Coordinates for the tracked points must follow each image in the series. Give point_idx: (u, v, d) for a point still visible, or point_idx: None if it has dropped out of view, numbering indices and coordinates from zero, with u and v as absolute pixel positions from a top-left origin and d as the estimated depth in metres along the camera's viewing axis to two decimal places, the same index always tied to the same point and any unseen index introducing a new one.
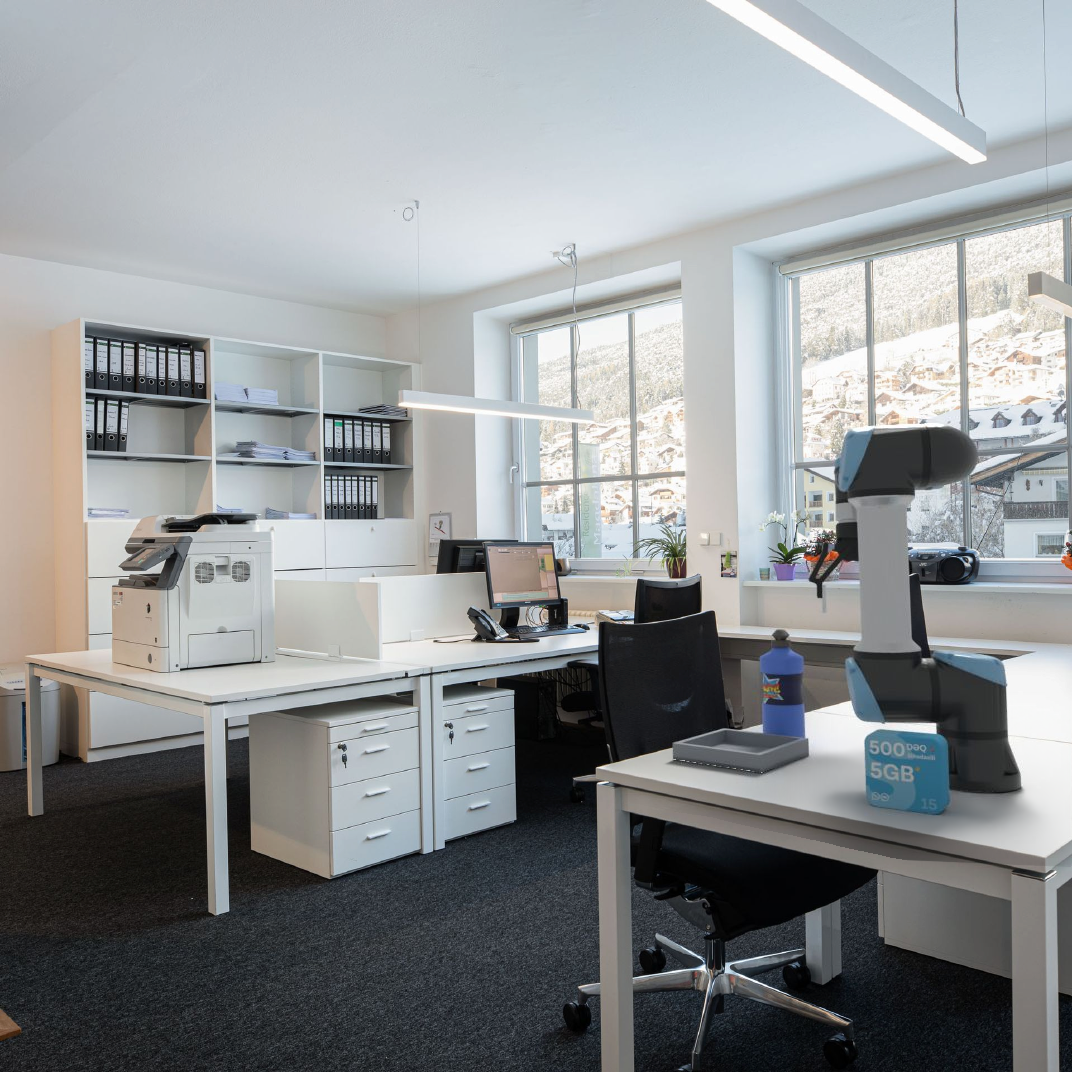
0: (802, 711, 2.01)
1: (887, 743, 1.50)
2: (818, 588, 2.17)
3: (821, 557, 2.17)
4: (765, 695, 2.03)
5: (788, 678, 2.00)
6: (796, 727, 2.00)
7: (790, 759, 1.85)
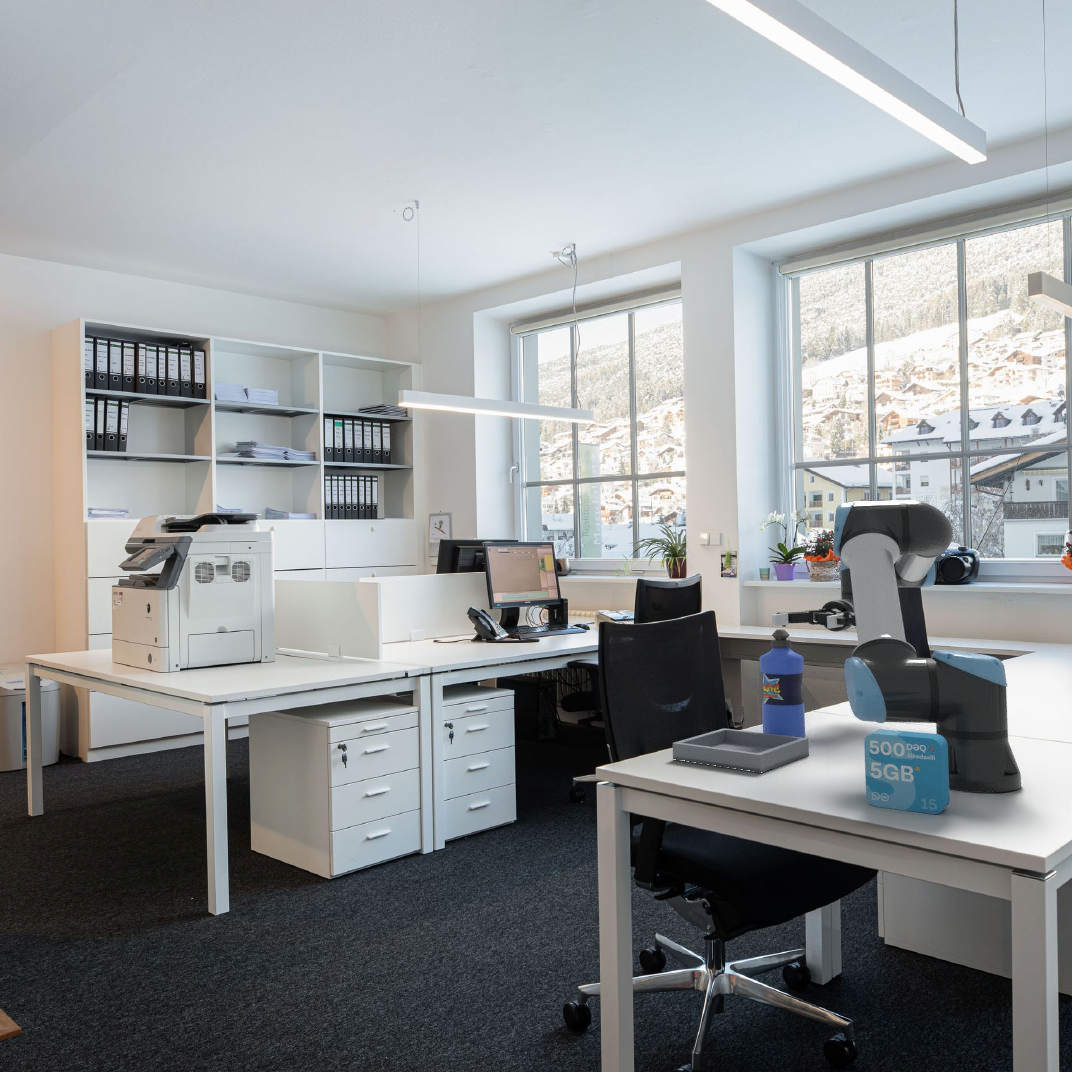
0: (802, 711, 2.01)
1: (887, 743, 1.50)
2: None
3: None
4: (765, 695, 2.03)
5: (788, 678, 2.00)
6: (796, 727, 2.00)
7: (790, 759, 1.85)
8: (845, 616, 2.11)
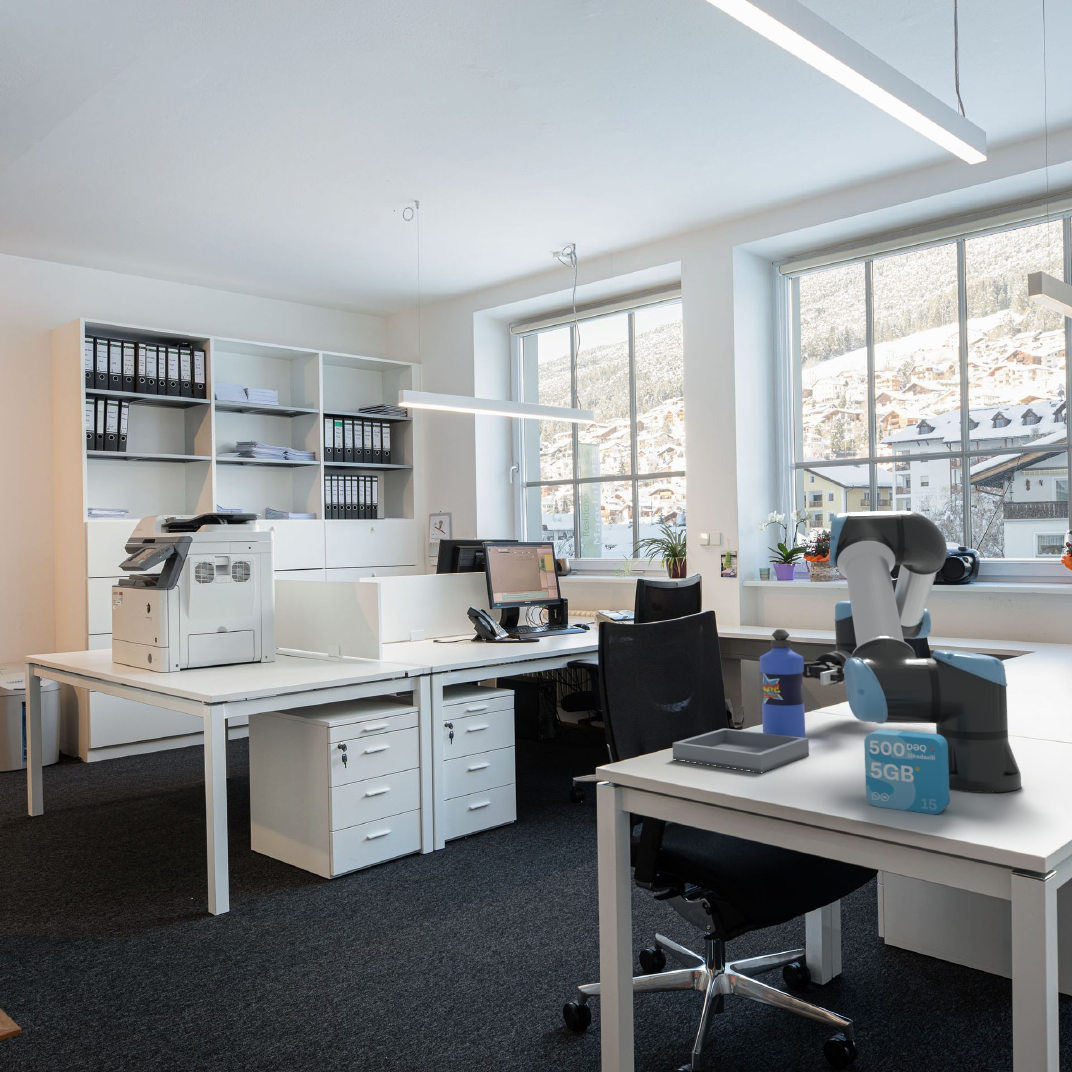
0: (802, 711, 2.01)
1: (887, 743, 1.50)
2: None
3: None
4: (765, 695, 2.03)
5: (788, 678, 2.00)
6: (796, 727, 2.00)
7: (790, 759, 1.85)
8: (839, 672, 2.09)
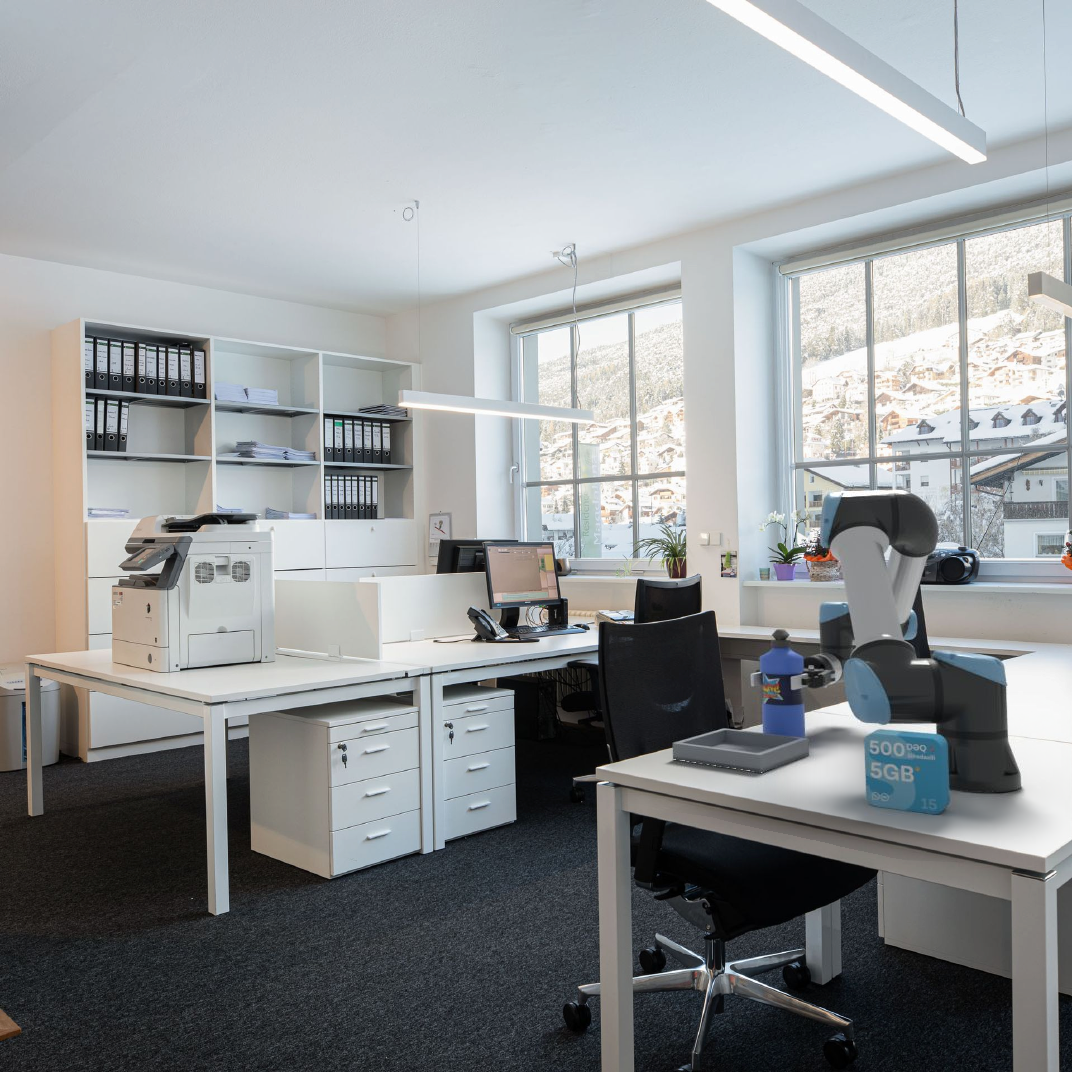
0: (802, 711, 2.01)
1: (887, 743, 1.50)
2: None
3: None
4: (765, 695, 2.03)
5: (788, 678, 2.00)
6: (796, 727, 2.00)
7: (790, 759, 1.85)
8: (810, 676, 2.02)
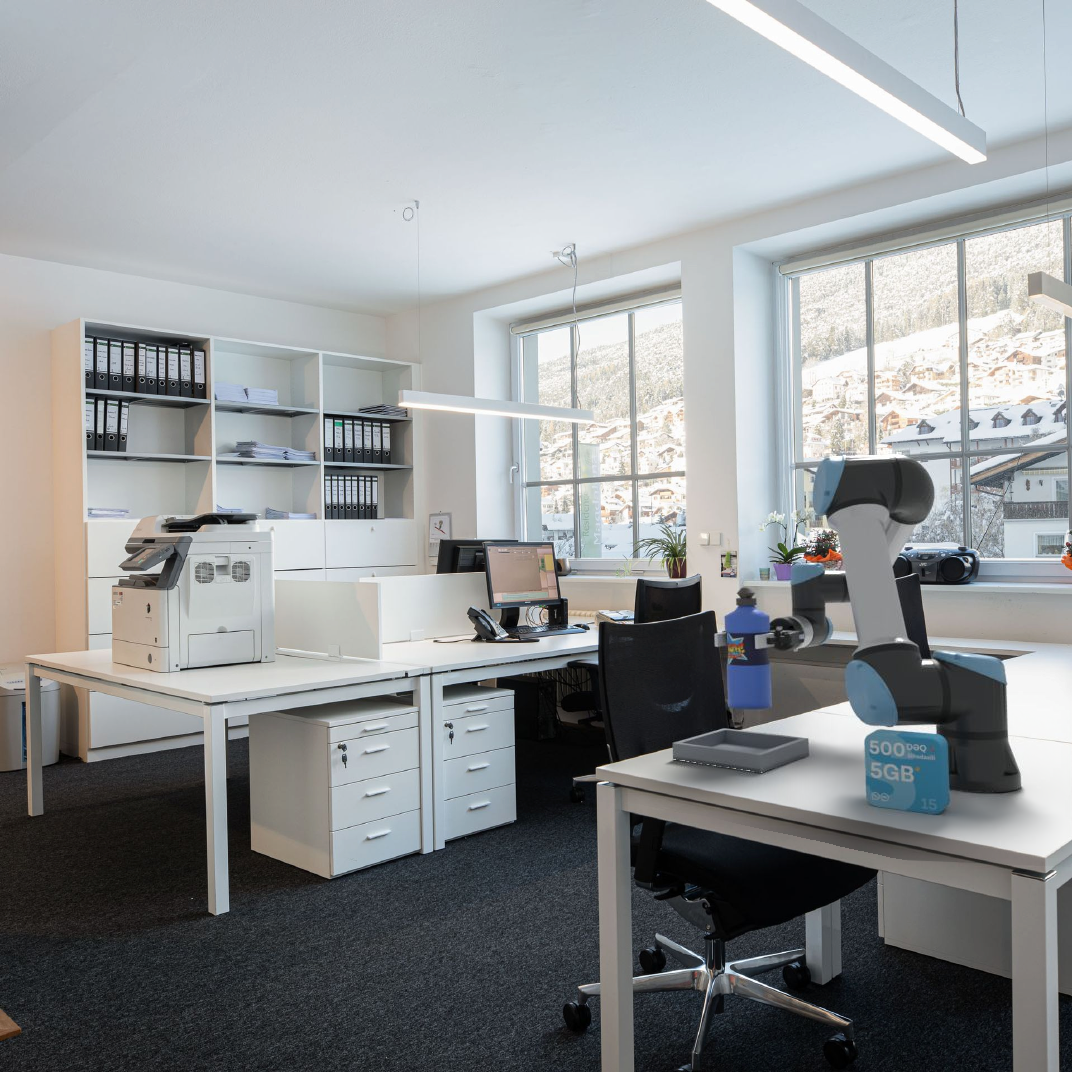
0: (768, 672, 1.93)
1: (887, 743, 1.50)
2: None
3: None
4: (729, 655, 1.95)
5: (753, 637, 1.92)
6: (761, 688, 1.91)
7: (790, 759, 1.85)
8: (776, 635, 1.93)
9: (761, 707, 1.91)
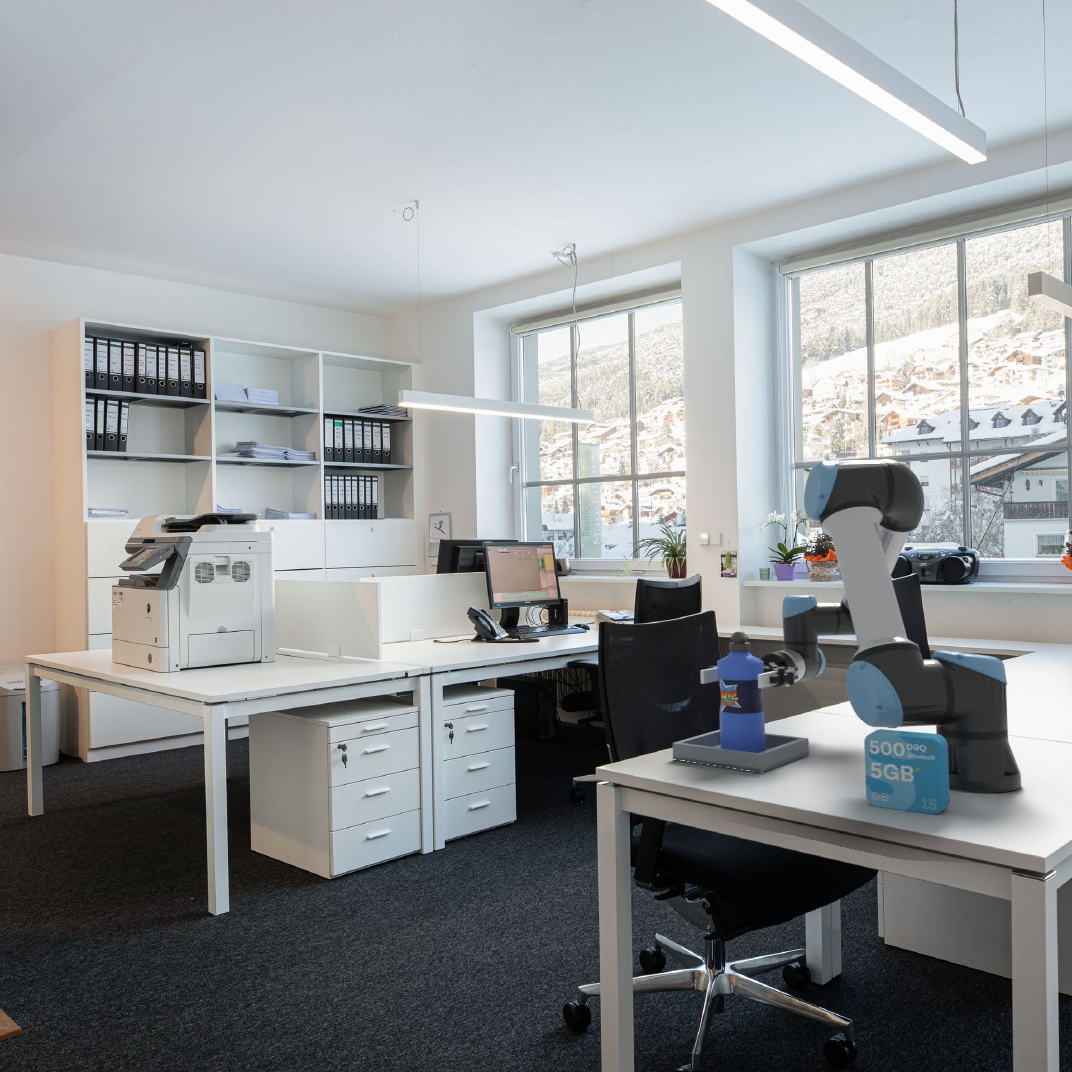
0: (762, 720, 1.88)
1: (887, 743, 1.50)
2: None
3: None
4: (722, 702, 1.89)
5: (746, 684, 1.86)
6: (755, 736, 1.86)
7: (790, 759, 1.85)
8: (779, 673, 1.88)
9: None
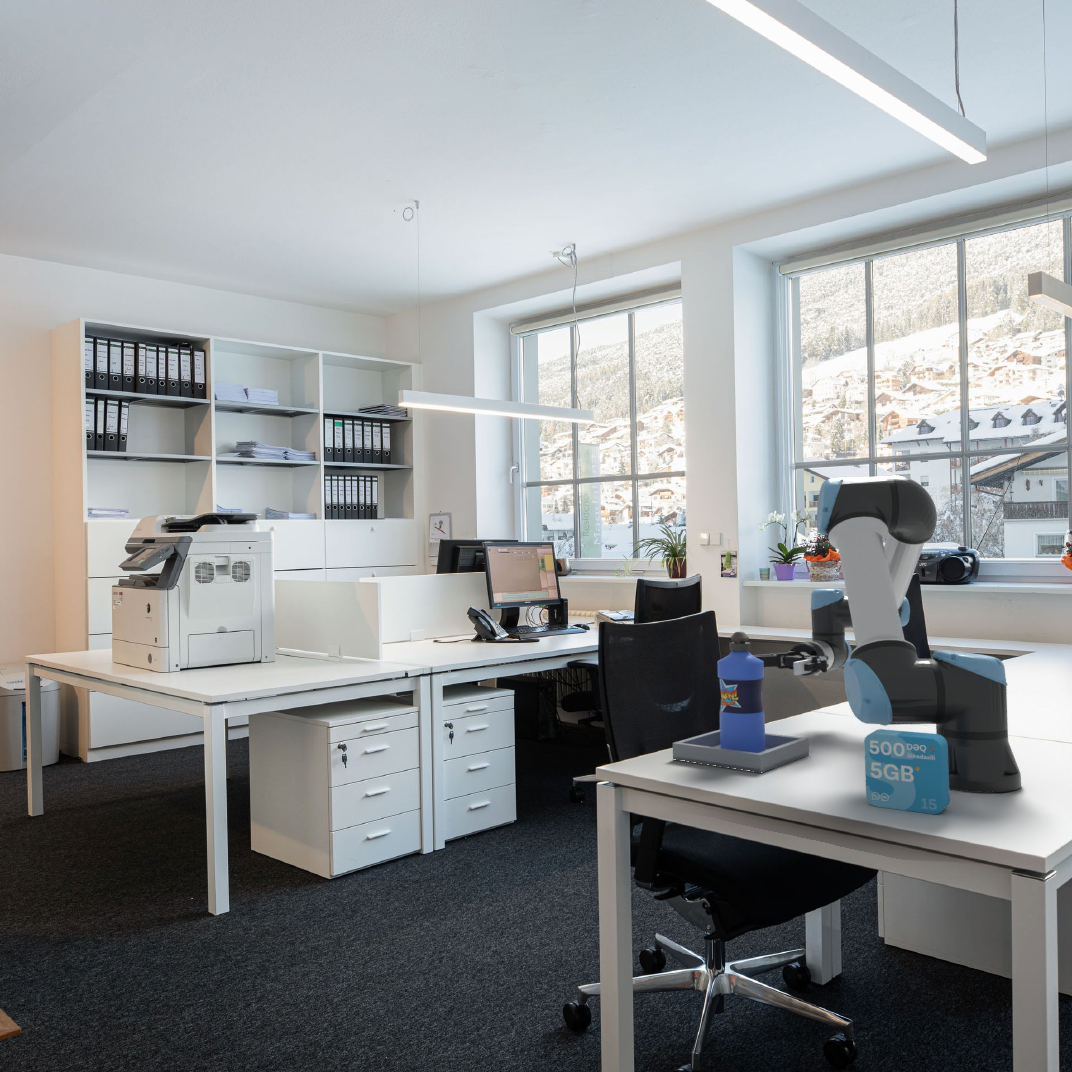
0: (762, 720, 1.88)
1: (887, 743, 1.50)
2: None
3: (764, 654, 2.13)
4: (722, 702, 1.89)
5: (747, 684, 1.86)
6: (755, 736, 1.86)
7: (790, 759, 1.85)
8: (813, 661, 1.98)
9: None
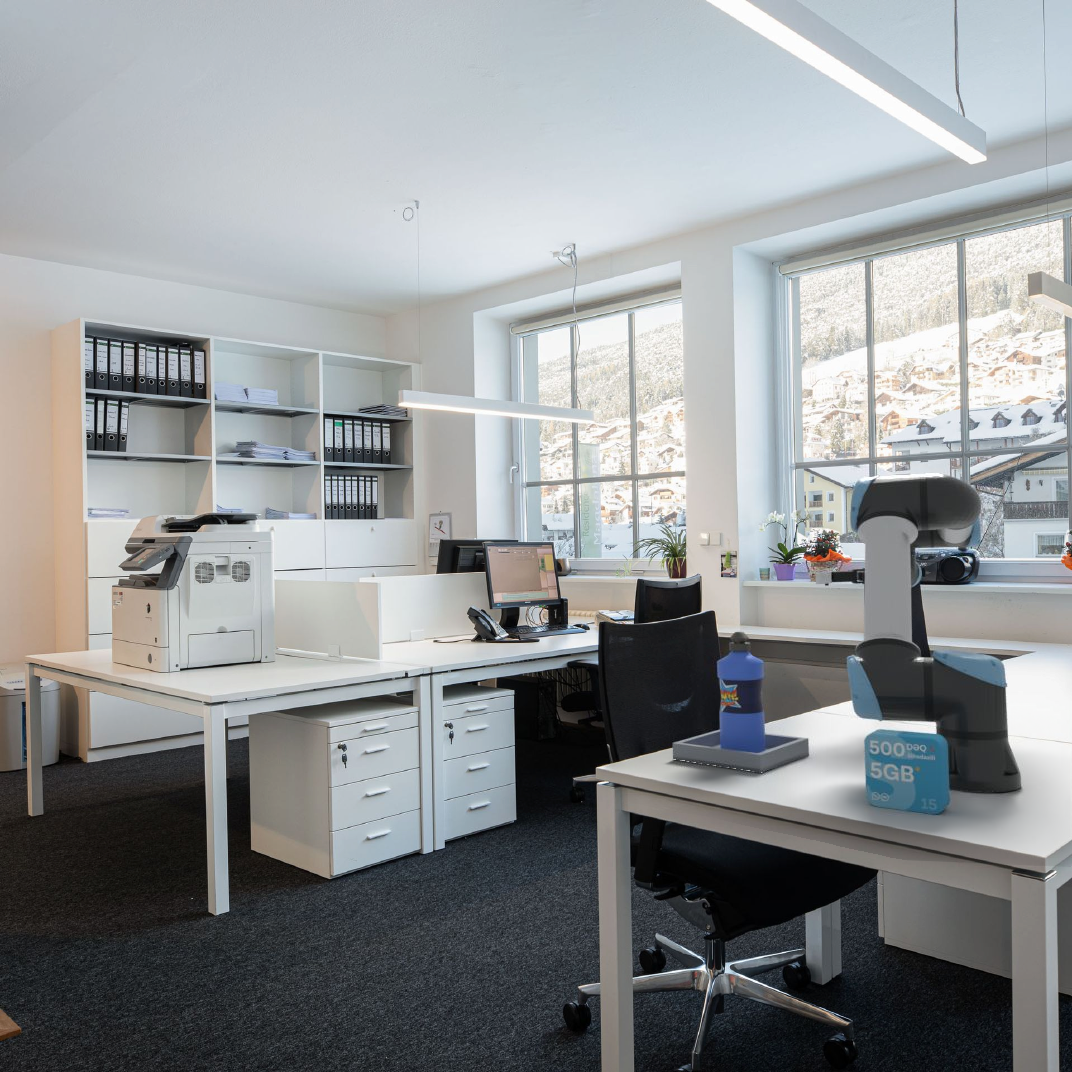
0: (762, 720, 1.88)
1: (887, 743, 1.50)
2: None
3: None
4: (722, 702, 1.89)
5: (746, 684, 1.86)
6: (755, 736, 1.86)
7: (790, 759, 1.85)
8: None
9: None
